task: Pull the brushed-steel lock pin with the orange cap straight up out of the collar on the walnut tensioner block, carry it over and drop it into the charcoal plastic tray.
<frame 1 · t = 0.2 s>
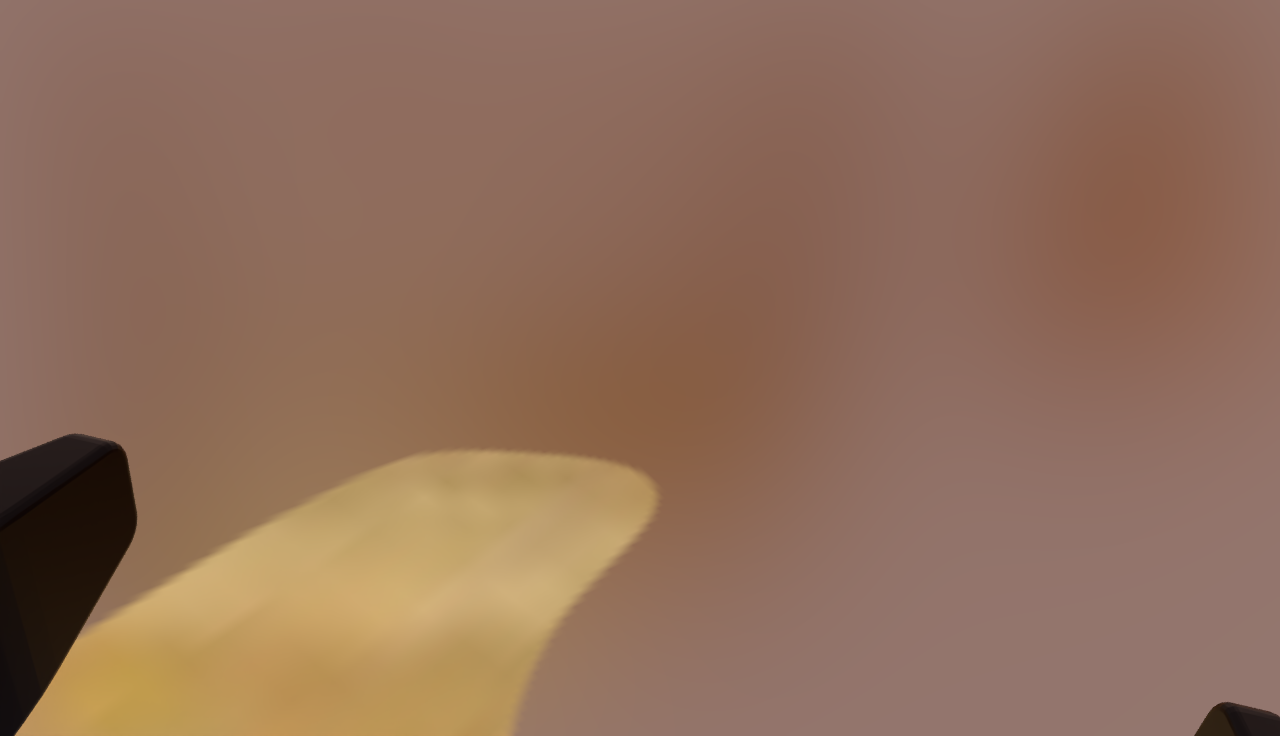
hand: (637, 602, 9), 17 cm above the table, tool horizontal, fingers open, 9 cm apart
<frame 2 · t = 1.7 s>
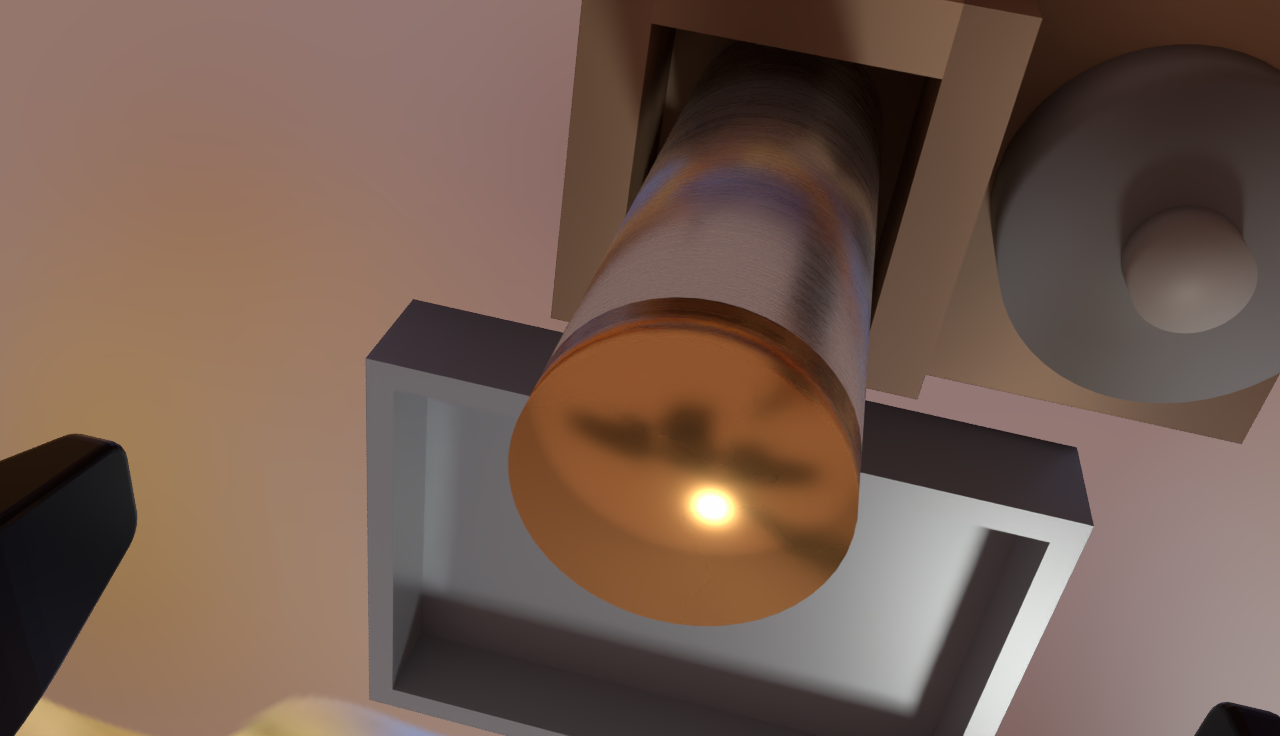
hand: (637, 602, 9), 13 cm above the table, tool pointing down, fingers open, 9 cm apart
tensioner block: (961, 123, 19), on the table
lock pin: (783, 128, 18), point 2 cm above the table, touching tensioner block
tray: (696, 549, 26), on the table
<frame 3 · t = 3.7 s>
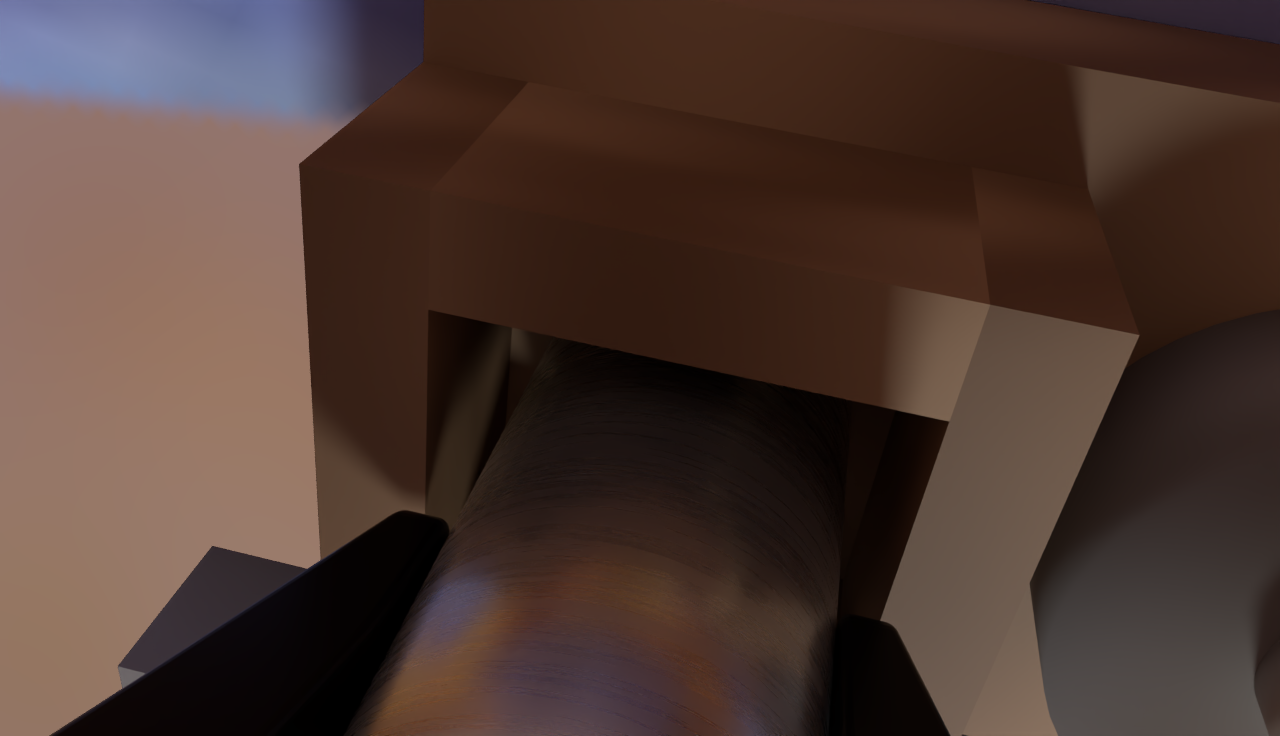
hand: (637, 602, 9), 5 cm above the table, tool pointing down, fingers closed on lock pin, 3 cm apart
tensioner block: (974, 357, 13), on the table
lock pin: (695, 396, 11), point 2 cm above the table, touching gripper, tensioner block
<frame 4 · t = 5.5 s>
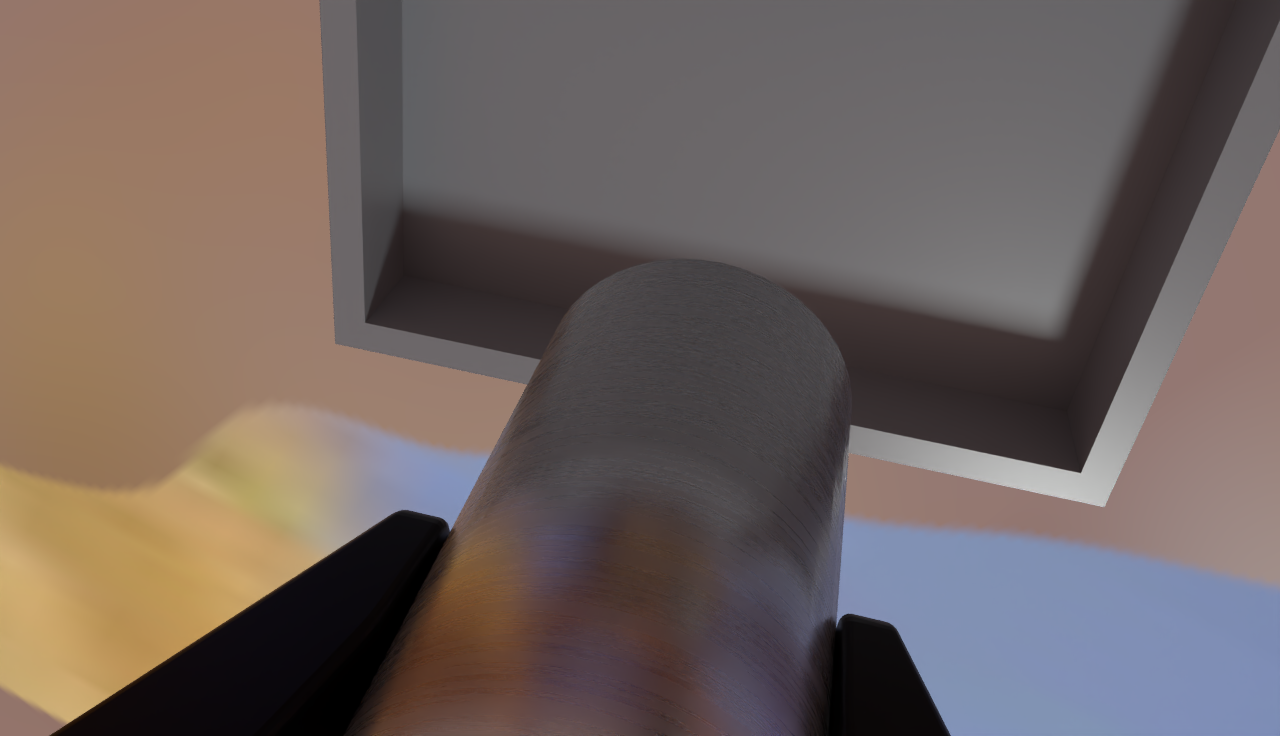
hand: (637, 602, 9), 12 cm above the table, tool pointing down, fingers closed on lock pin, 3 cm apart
lock pin: (695, 397, 11), point 9 cm above the table, touching gripper
tray: (770, 107, 19), on the table
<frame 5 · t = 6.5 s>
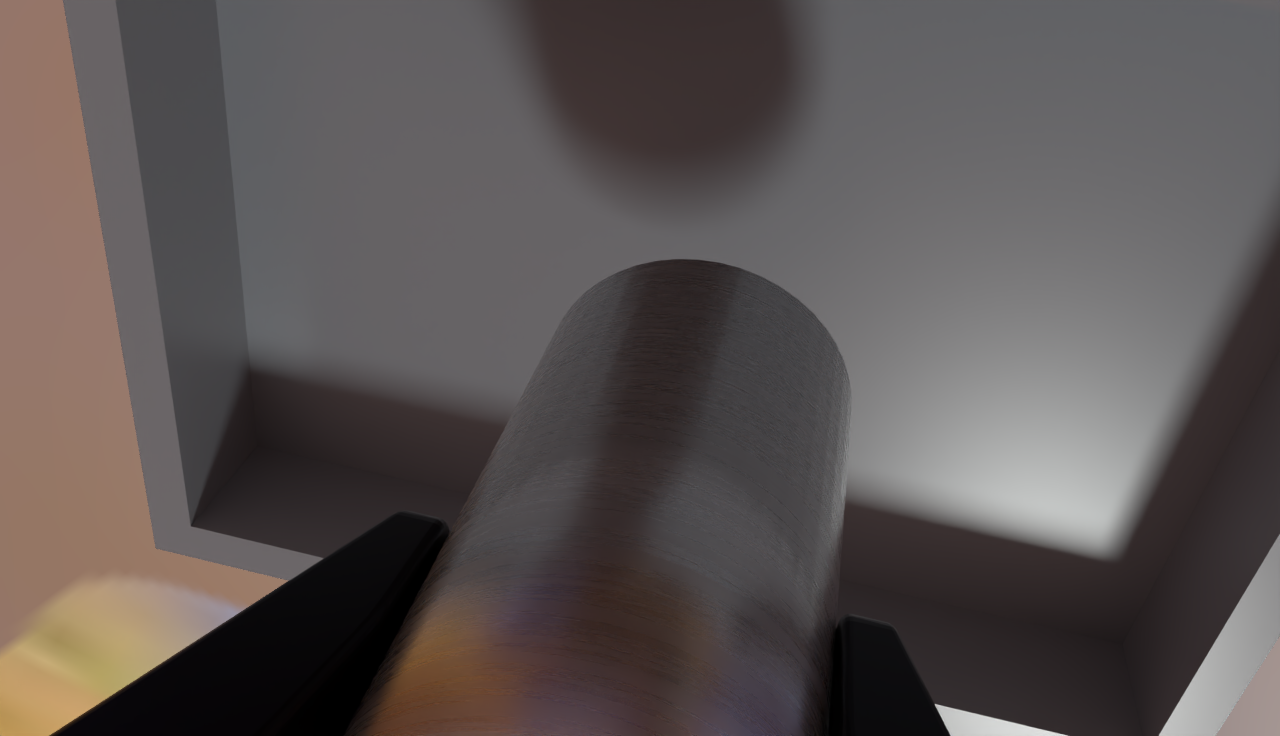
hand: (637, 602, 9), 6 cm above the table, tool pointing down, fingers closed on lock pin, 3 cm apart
lock pin: (694, 397, 11), point 3 cm above the table, touching gripper
tray: (728, 253, 14), on the table
when the fingers open (5 cm above the table, at t = 7.4 s): lock pin drops 2 cm, resting on tray.
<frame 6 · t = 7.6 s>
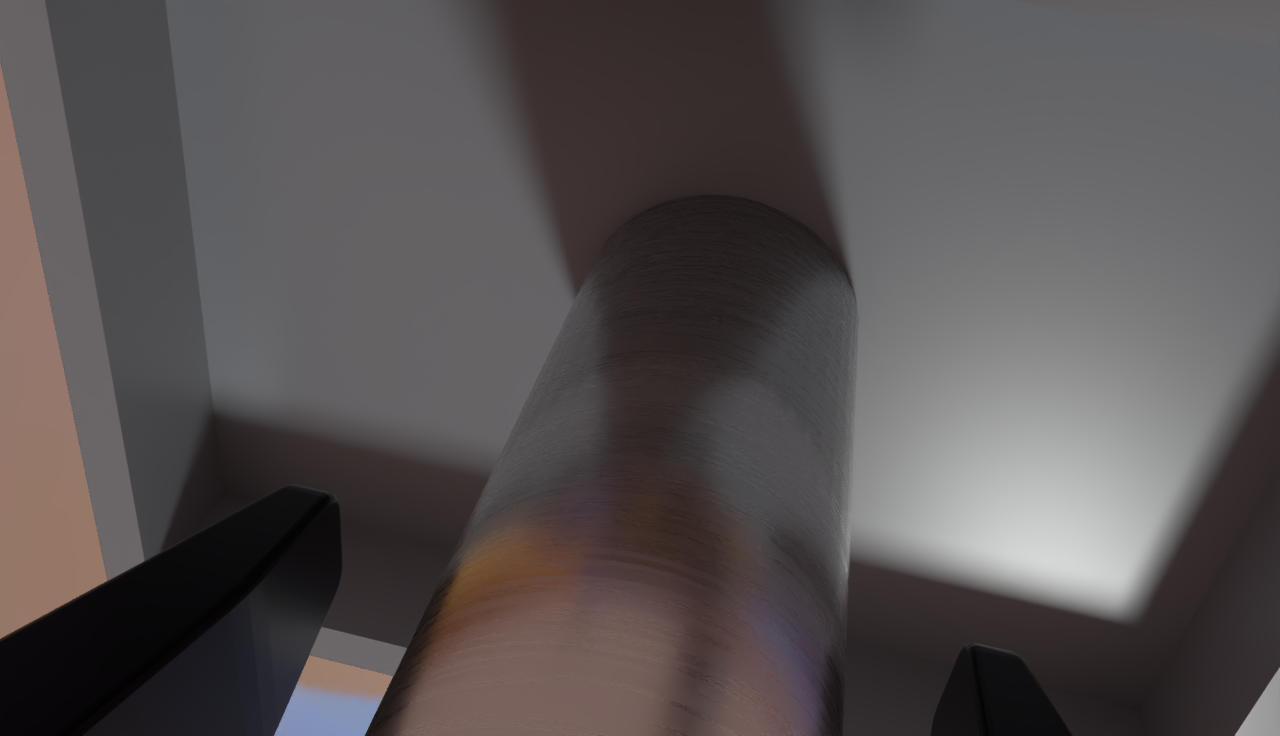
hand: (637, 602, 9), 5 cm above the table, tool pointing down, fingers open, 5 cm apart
lock pin: (717, 323, 13), point 1 cm above the table, touching tray
tray: (720, 297, 13), on the table
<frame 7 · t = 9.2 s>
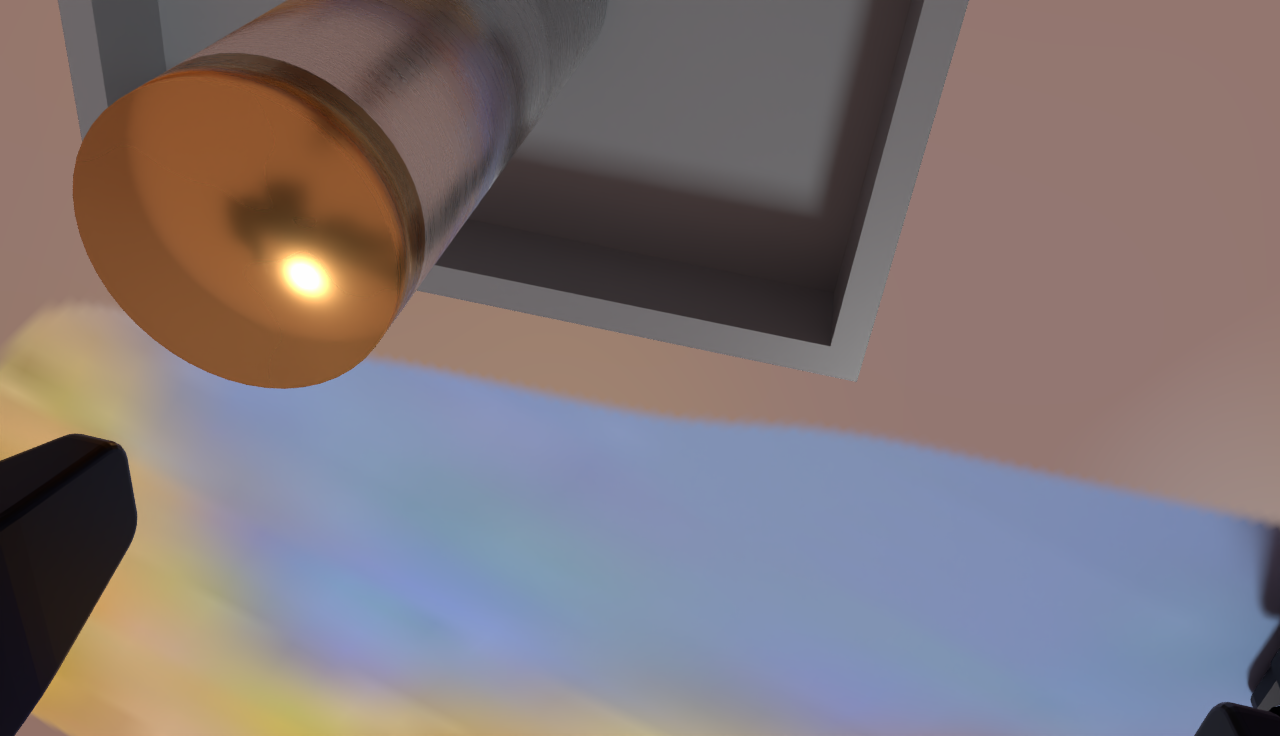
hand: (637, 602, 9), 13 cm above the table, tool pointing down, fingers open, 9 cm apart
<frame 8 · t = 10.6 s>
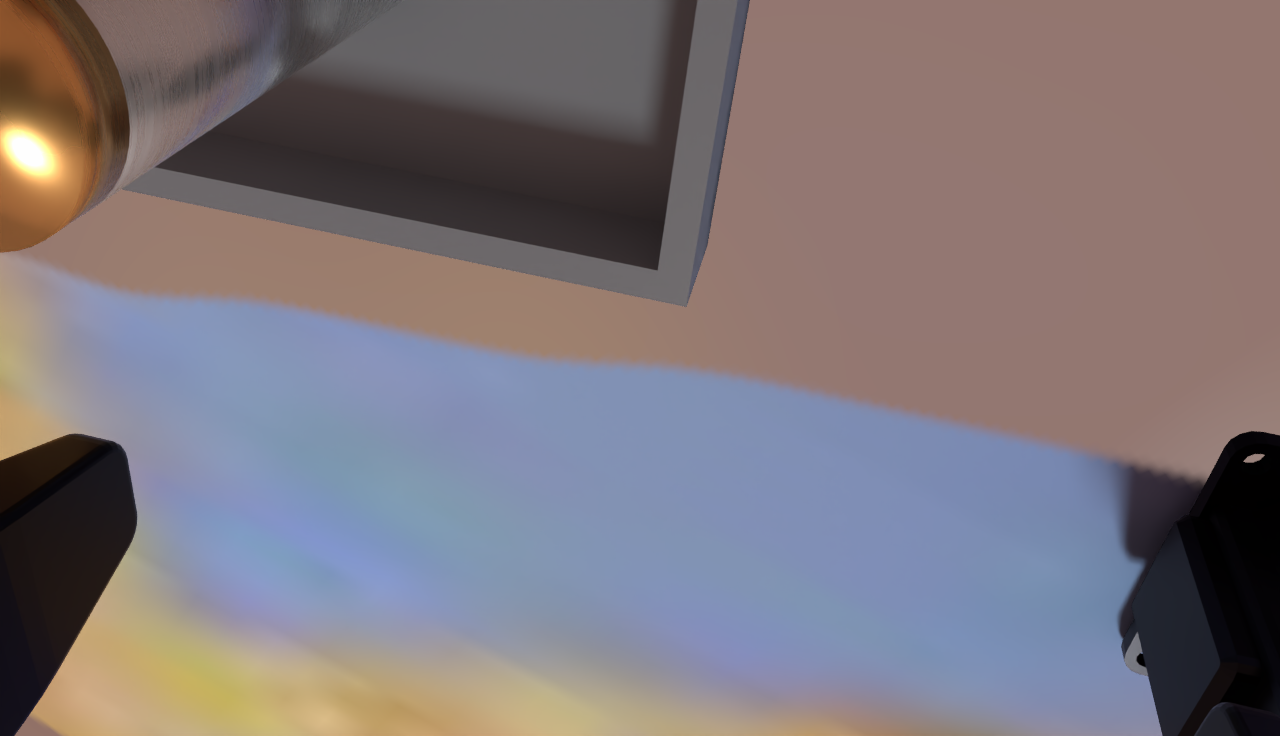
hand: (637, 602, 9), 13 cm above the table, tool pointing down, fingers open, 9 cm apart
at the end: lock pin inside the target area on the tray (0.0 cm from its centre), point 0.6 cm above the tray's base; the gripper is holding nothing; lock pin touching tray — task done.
